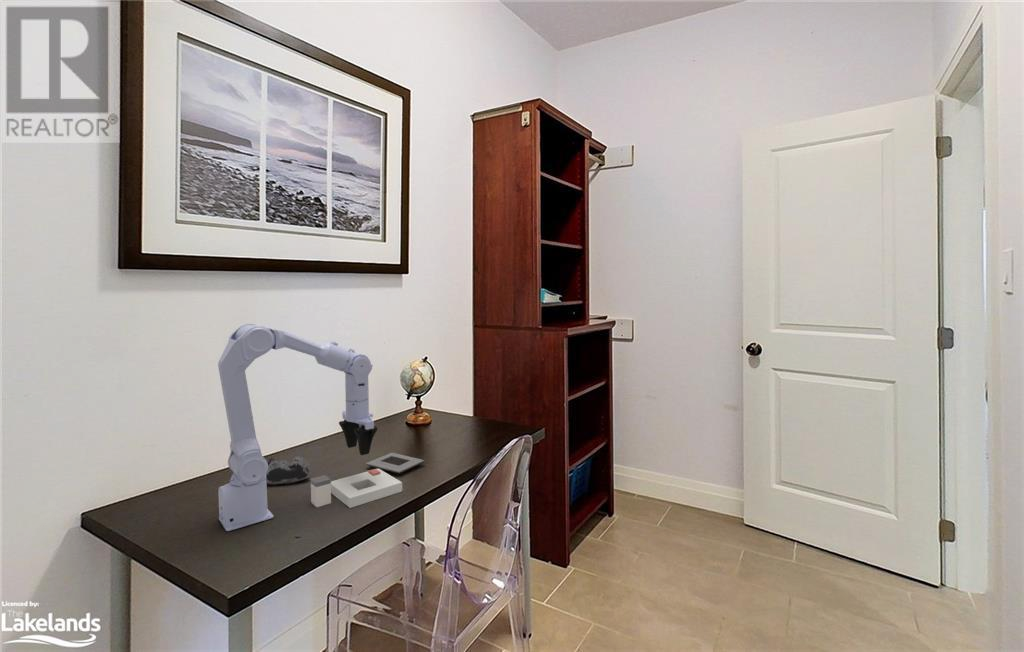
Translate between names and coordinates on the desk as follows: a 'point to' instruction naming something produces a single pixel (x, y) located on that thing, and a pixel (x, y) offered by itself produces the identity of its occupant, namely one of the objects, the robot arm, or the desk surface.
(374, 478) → the socket plate
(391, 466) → the electrical outlet
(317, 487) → the plug
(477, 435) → the desk surface
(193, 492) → the desk surface
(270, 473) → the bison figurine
